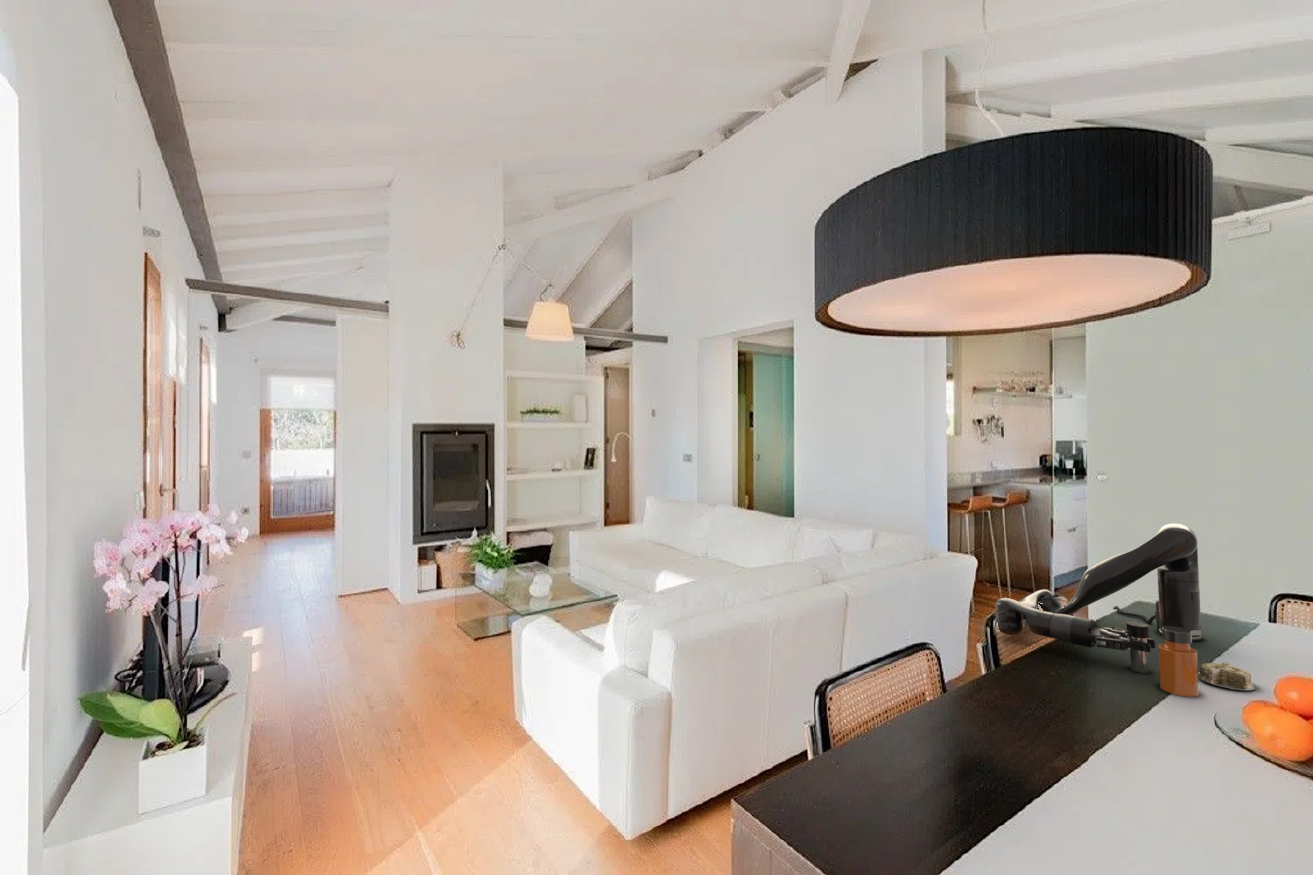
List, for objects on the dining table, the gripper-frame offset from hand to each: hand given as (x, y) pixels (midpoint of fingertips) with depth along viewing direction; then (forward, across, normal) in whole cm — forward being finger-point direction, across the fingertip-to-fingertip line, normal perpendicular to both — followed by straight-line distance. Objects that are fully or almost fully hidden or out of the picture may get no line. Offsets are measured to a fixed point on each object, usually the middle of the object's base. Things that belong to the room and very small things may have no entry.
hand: (1152, 645), depth 146 cm
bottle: (+6, +8, -7) cm, 12 cm away
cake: (+12, -5, -7) cm, 15 cm away
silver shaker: (-3, 0, -7) cm, 8 cm away
